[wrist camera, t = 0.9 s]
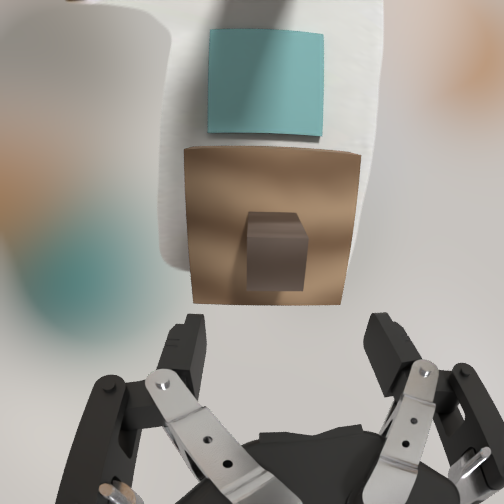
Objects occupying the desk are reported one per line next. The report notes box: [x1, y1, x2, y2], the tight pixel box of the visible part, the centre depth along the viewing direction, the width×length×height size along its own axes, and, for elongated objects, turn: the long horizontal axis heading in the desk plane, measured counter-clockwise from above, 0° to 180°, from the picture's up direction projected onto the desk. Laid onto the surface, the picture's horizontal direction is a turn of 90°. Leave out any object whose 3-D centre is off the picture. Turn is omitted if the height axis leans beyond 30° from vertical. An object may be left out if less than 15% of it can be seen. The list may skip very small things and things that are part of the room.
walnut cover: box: [184, 146, 361, 305], centre depth 24 cm, size 15×15×10 cm
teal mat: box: [208, 29, 324, 136], centre depth 33 cm, size 15×15×1 cm
